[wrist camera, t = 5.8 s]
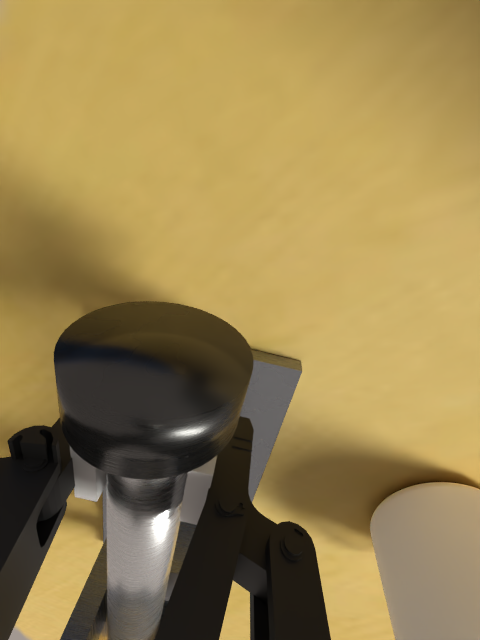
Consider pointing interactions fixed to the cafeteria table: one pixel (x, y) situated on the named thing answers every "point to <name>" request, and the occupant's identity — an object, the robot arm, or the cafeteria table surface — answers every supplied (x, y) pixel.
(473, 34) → the cafeteria table surface
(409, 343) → the cafeteria table surface
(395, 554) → the mug
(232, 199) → the cafeteria table surface
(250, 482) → the bearing block
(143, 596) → the shaft
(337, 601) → the cafeteria table surface
